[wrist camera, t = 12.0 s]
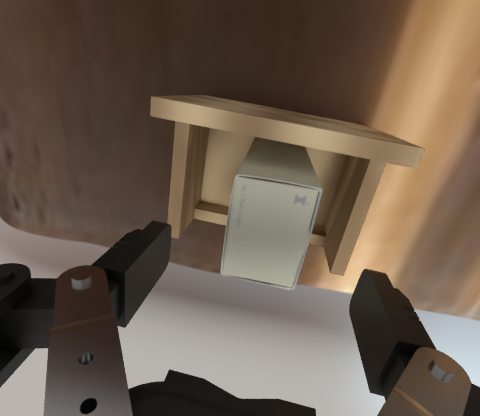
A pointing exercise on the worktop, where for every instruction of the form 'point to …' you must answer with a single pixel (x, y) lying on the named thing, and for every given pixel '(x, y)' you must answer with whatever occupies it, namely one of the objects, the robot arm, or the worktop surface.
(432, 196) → the worktop surface
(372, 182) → the caddy
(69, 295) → the robot arm
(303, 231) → the skincare box
